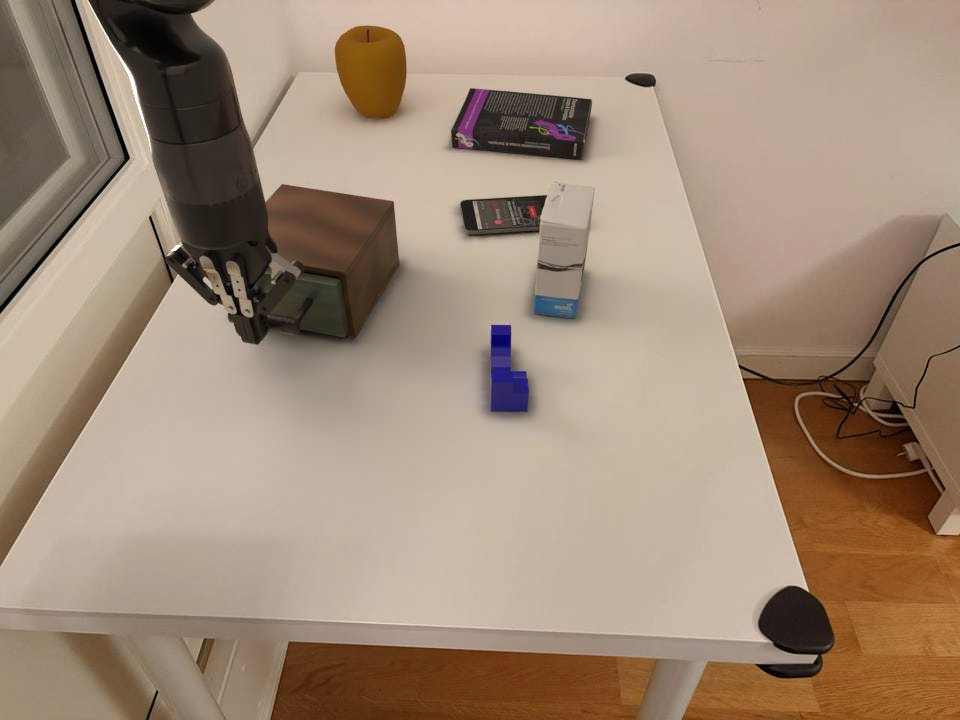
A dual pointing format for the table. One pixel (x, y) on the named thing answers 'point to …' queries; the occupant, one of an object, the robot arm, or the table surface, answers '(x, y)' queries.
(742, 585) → the table surface
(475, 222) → the smartphone
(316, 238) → the cabinet
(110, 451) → the table surface
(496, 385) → the cable holder
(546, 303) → the ink box
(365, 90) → the apple
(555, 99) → the box
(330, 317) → the drawer
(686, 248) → the table surface
